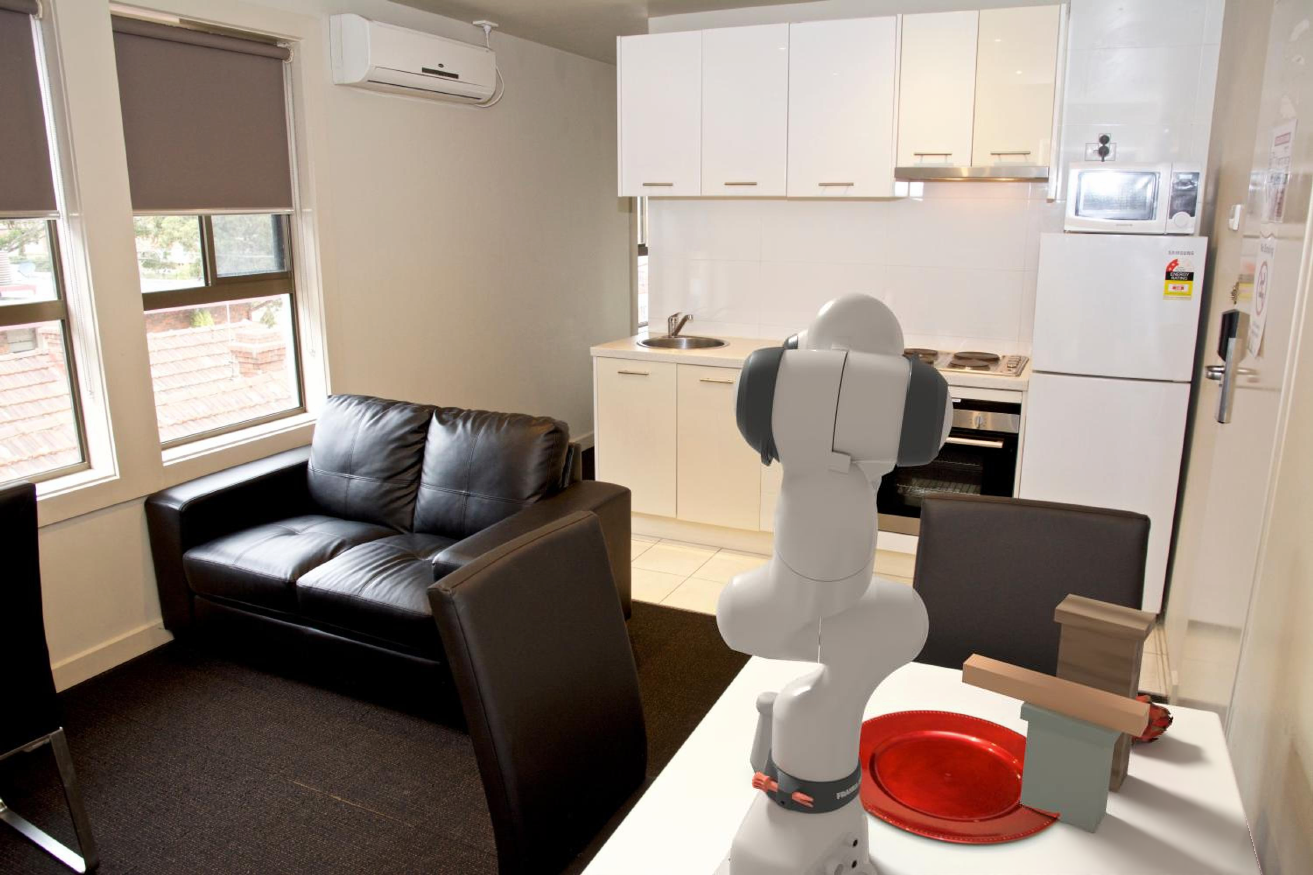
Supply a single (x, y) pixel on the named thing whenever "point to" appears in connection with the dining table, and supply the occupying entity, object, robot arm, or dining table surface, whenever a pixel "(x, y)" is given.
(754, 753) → the salt shaker
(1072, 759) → the low stand
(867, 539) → the robot arm
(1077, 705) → the bar
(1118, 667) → the tall stand
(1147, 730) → the dragon fruit
